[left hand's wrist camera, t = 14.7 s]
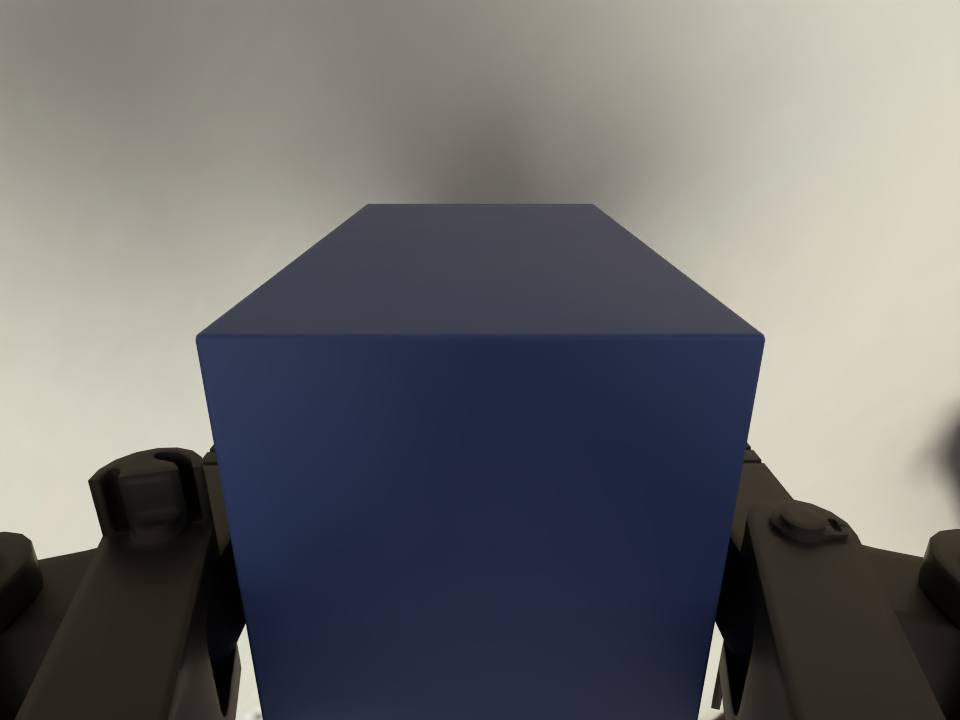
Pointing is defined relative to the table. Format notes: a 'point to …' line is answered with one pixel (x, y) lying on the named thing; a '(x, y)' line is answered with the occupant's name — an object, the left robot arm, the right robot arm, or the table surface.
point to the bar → (480, 468)
